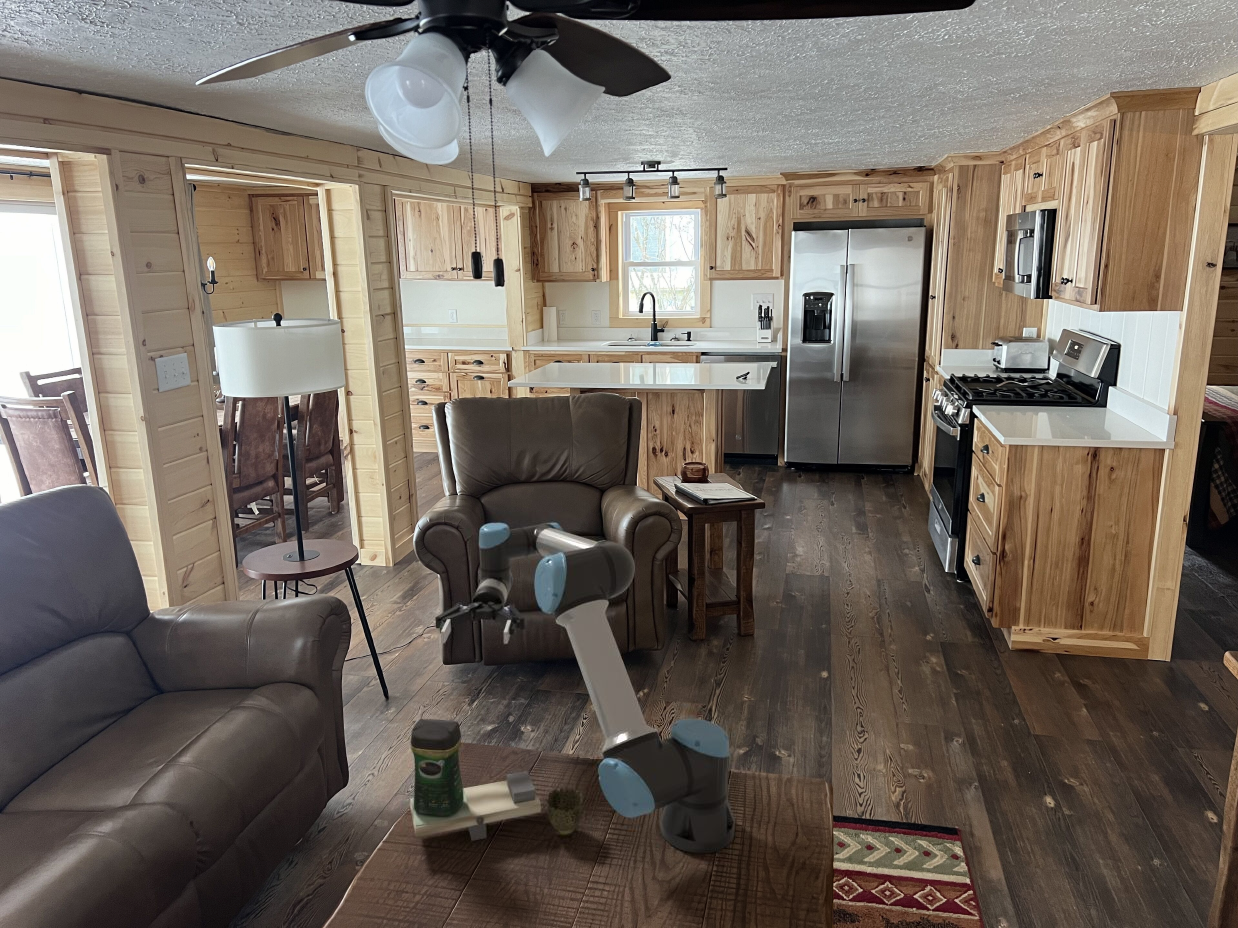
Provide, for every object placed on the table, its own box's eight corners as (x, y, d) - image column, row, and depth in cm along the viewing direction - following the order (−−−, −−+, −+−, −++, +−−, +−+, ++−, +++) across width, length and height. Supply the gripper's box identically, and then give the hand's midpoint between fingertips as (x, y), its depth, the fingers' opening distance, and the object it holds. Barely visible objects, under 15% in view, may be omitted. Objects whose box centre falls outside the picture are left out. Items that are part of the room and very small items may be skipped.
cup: (578, 846, 172) (577, 811, 170) (542, 841, 173) (541, 806, 171) (586, 823, 179) (586, 789, 177) (552, 818, 180) (552, 784, 178)
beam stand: (486, 837, 174) (486, 820, 173) (471, 840, 173) (471, 823, 172) (480, 816, 181) (479, 800, 180) (465, 819, 180) (465, 802, 179)
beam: (541, 813, 175) (541, 794, 174) (416, 838, 167) (415, 818, 166) (528, 783, 185) (528, 764, 184) (409, 805, 177) (409, 786, 176)
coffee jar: (467, 796, 176) (465, 714, 172) (455, 821, 169) (453, 735, 164) (422, 792, 178) (419, 710, 173) (408, 816, 170) (404, 731, 166)
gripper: (541, 615, 208) (531, 654, 188) (438, 613, 208) (417, 652, 188) (540, 585, 206) (531, 622, 186) (437, 584, 207) (416, 620, 186)
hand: (474, 637), depth 187 cm, fingers open, 13 cm apart
